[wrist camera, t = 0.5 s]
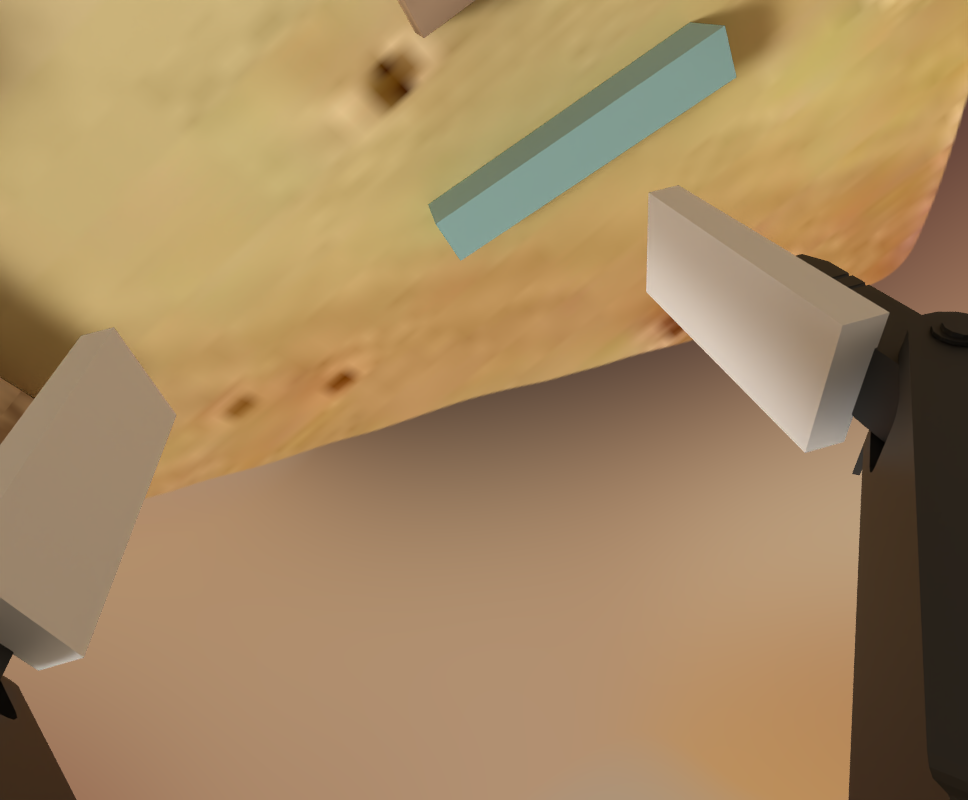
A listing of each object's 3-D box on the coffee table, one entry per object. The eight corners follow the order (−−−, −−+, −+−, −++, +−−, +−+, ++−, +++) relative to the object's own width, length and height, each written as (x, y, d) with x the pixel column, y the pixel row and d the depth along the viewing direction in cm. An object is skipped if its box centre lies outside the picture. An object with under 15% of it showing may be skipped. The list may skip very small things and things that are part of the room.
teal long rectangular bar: (428, 204, 38) (435, 224, 34) (690, 22, 34) (724, 25, 31) (451, 239, 39) (460, 260, 36) (702, 69, 36) (736, 77, 33)
